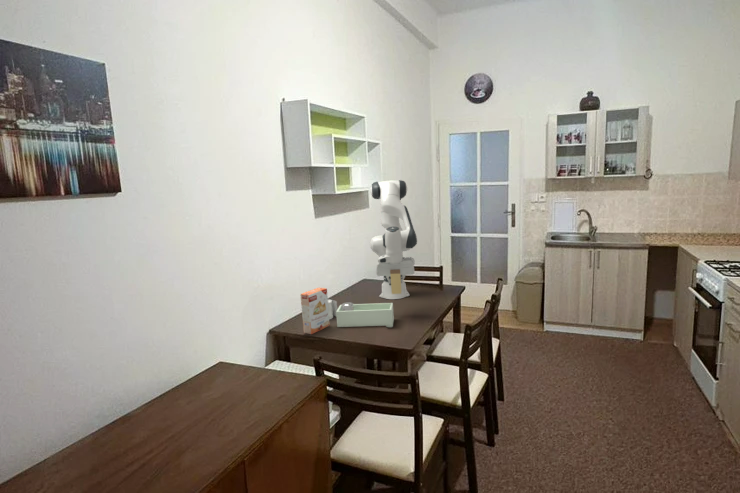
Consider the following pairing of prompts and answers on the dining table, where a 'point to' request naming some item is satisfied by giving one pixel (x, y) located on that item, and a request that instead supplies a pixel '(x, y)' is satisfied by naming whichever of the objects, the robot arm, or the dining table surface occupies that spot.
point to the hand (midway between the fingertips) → (396, 283)
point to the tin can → (347, 306)
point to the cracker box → (315, 310)
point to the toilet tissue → (332, 308)
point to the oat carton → (395, 281)
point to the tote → (366, 315)
